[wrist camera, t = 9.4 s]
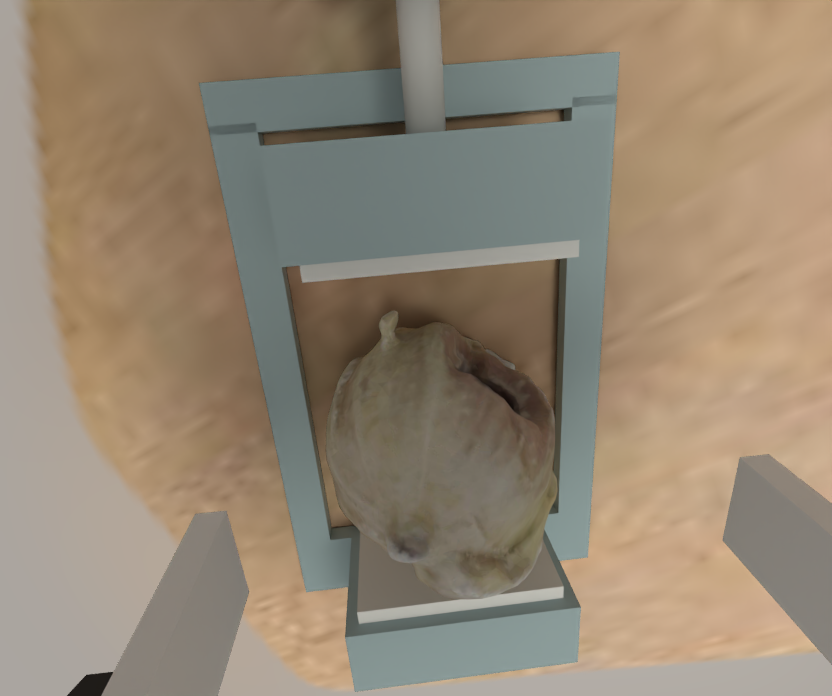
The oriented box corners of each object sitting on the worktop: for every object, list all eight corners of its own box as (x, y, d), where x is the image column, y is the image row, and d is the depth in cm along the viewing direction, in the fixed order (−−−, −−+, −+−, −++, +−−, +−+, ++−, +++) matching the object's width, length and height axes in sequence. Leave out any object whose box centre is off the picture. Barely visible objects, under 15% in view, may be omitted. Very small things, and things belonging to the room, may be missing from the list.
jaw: (264, -40, 15) (205, -153, 10) (540, -57, 16) (626, -174, 10) (310, 253, 19) (284, 289, 13) (536, 232, 19) (601, 259, 14)
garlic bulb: (489, 422, 25) (588, 621, 18) (324, 450, 23) (355, 685, 16) (520, 258, 19) (688, 451, 12) (302, 278, 17) (337, 522, 10)
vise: (206, 86, 17) (122, 47, 11) (608, 56, 17) (720, 5, 12) (308, 579, 25) (288, 700, 19) (581, 545, 25) (640, 653, 20)
